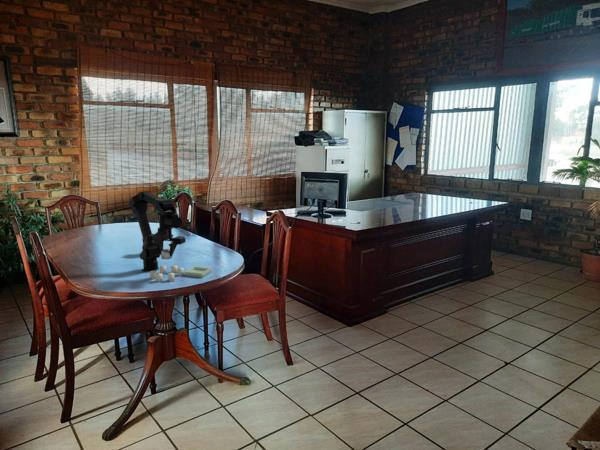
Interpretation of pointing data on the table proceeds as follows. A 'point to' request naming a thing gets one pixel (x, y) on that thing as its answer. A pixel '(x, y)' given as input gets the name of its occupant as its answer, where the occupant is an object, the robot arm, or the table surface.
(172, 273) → the nylon spacers
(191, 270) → the parts tray
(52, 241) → the table surface
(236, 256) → the table surface
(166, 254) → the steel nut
